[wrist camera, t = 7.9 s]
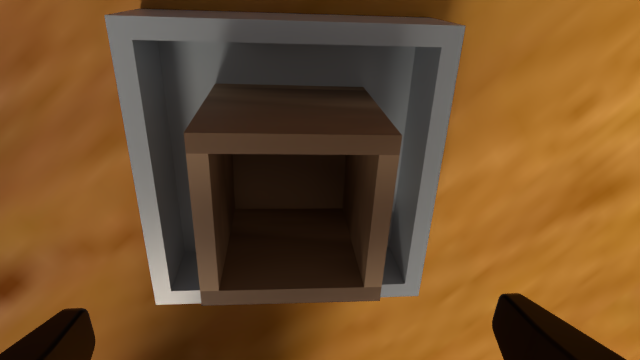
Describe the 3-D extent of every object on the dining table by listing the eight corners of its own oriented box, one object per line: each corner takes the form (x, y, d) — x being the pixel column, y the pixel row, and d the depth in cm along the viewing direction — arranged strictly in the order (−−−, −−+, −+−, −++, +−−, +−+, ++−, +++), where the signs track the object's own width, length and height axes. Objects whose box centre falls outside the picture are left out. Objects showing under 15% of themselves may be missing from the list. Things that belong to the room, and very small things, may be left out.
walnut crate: (352, 213, 20) (379, 300, 14) (223, 214, 19) (201, 305, 14) (363, 87, 17) (402, 135, 12) (215, 83, 16) (183, 132, 11)
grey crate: (398, 250, 22) (418, 295, 18) (174, 255, 21) (155, 304, 17) (430, 17, 17) (465, 25, 14) (139, 8, 16) (104, 15, 12)
